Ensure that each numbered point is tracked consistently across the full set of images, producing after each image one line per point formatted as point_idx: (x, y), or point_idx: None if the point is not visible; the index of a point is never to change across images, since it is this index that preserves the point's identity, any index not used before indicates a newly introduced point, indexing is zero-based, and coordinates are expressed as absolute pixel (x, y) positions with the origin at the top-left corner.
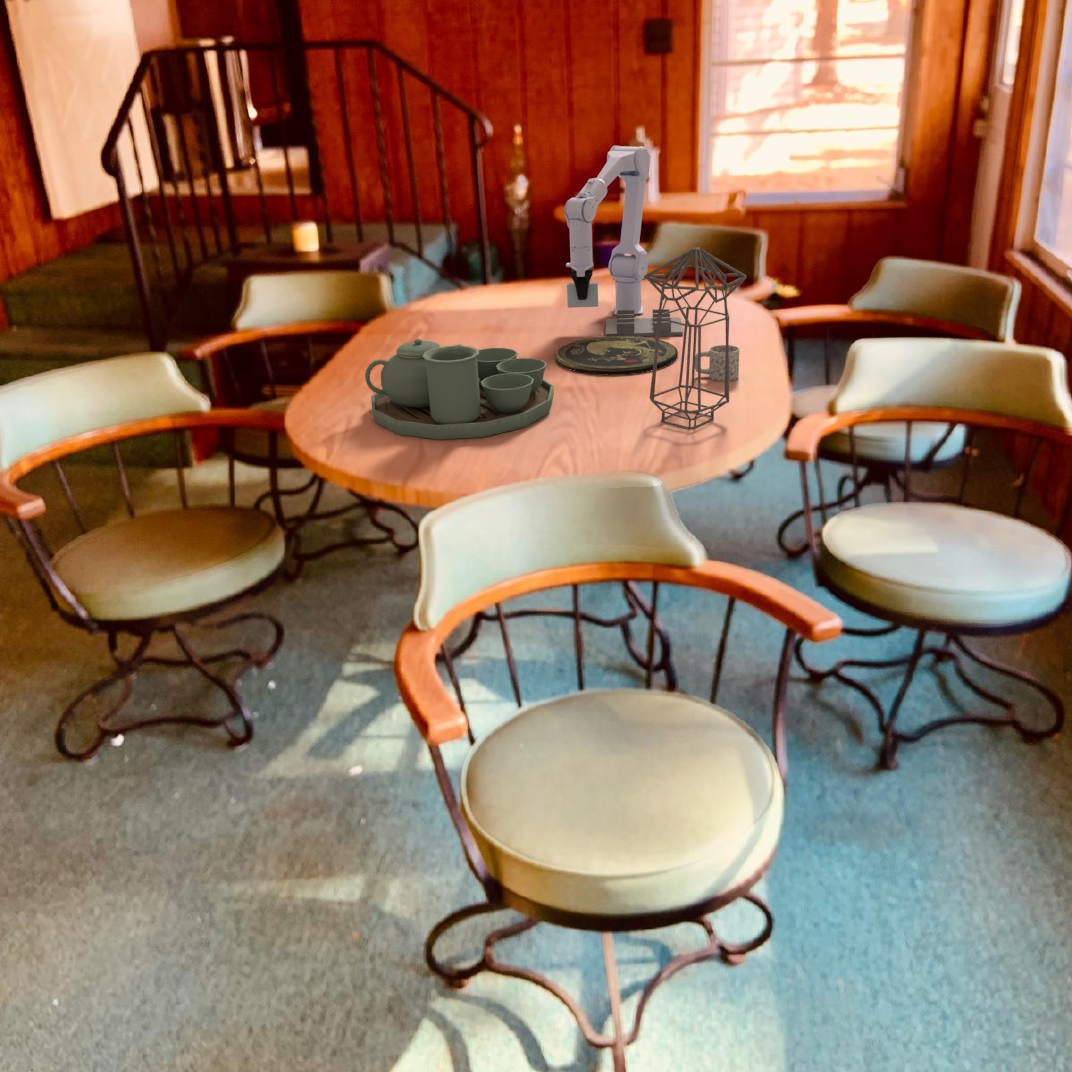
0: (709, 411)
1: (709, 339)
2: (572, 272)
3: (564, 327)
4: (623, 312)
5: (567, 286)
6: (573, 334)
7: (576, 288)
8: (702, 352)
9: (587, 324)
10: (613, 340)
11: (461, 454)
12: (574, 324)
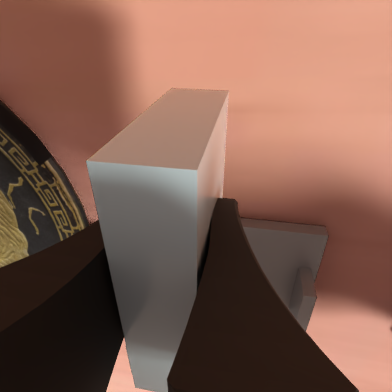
0: None
1: (116, 377)
2: (171, 389)
3: (302, 32)
4: (298, 306)
5: (97, 157)
6: (160, 87)
7: (74, 236)
8: None
9: (327, 153)
10: (25, 227)
11: None
12: (350, 90)
